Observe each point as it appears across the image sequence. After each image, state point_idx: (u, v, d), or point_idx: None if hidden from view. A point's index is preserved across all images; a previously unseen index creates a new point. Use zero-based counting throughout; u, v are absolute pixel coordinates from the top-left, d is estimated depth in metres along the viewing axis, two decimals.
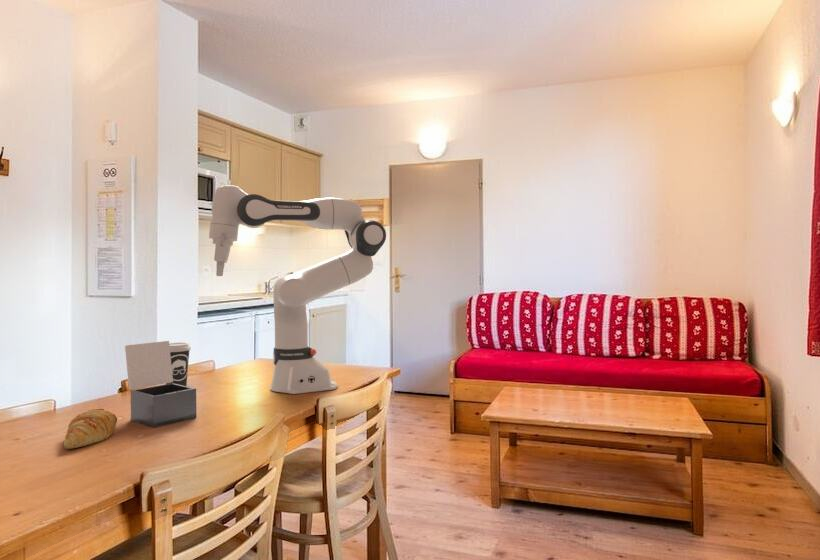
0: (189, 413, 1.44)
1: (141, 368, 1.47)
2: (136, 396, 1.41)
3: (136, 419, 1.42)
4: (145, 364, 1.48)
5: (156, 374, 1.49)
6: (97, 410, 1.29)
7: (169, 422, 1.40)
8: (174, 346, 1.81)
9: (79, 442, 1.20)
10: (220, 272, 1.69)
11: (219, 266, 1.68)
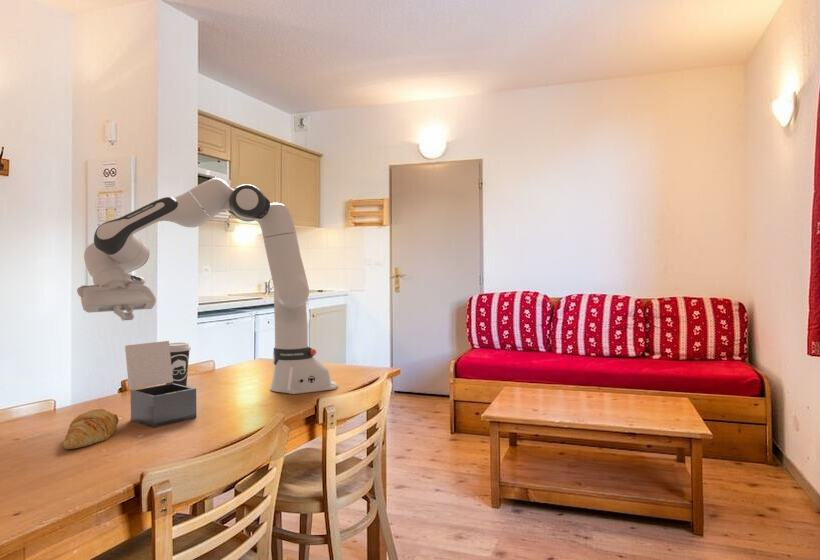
0: (189, 413, 1.44)
1: (141, 368, 1.47)
2: (136, 396, 1.41)
3: (136, 419, 1.42)
4: (145, 364, 1.48)
5: (156, 374, 1.49)
6: (98, 410, 1.29)
7: (169, 422, 1.40)
8: (174, 346, 1.81)
9: (79, 442, 1.20)
10: (122, 315, 1.55)
11: (116, 311, 1.56)
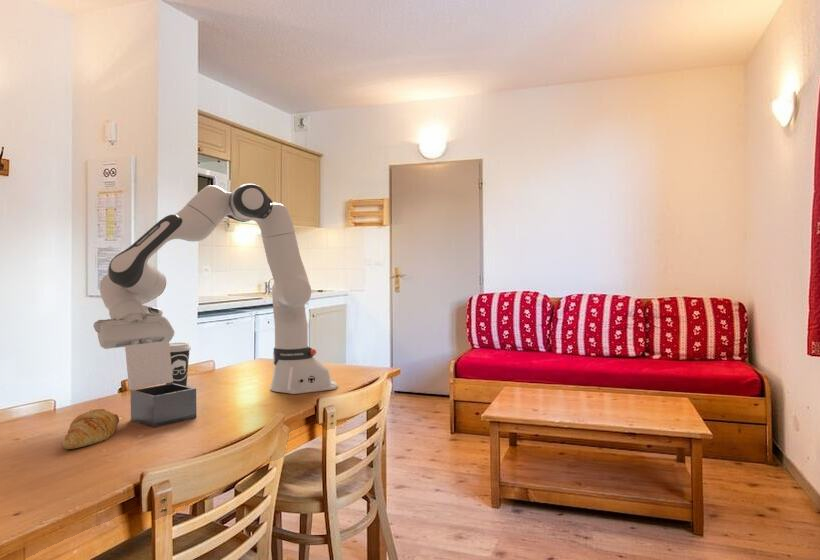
0: (189, 413, 1.44)
1: (141, 368, 1.47)
2: (136, 396, 1.41)
3: (136, 419, 1.42)
4: (145, 364, 1.48)
5: (156, 374, 1.49)
6: (98, 410, 1.29)
7: (169, 422, 1.40)
8: (174, 346, 1.81)
9: (79, 442, 1.20)
10: None
11: None
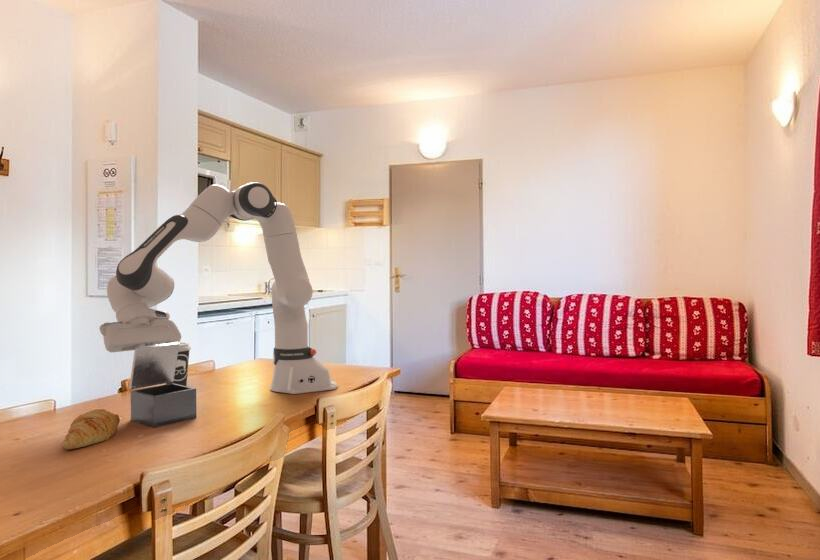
0: (189, 413, 1.44)
1: (145, 370, 1.45)
2: (136, 396, 1.41)
3: (136, 419, 1.42)
4: (150, 366, 1.46)
5: (158, 375, 1.49)
6: (98, 410, 1.29)
7: (169, 422, 1.40)
8: None
9: (79, 442, 1.19)
10: None
11: None
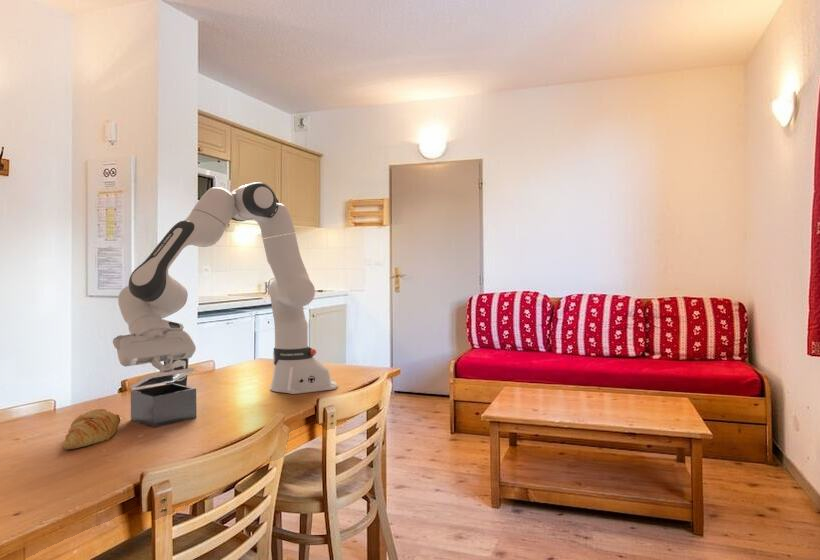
0: (189, 413, 1.44)
1: (152, 382, 1.43)
2: (136, 396, 1.41)
3: (136, 419, 1.42)
4: (158, 380, 1.44)
5: (162, 382, 1.48)
6: (99, 410, 1.29)
7: (169, 422, 1.40)
8: None
9: (78, 442, 1.19)
10: (161, 368, 1.42)
11: (155, 364, 1.42)
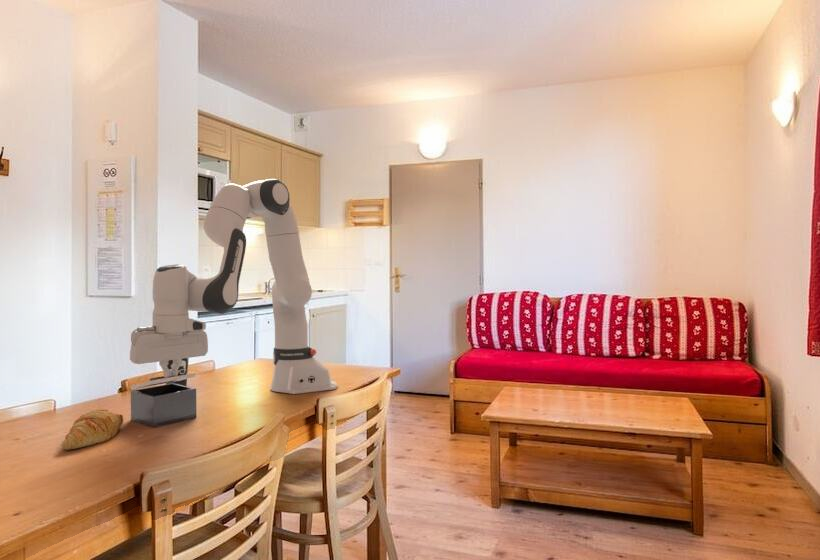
0: (189, 413, 1.44)
1: None
2: (136, 396, 1.41)
3: (136, 419, 1.42)
4: None
5: (162, 383, 1.47)
6: (100, 411, 1.29)
7: (169, 422, 1.40)
8: None
9: (77, 443, 1.19)
10: (165, 372, 1.40)
11: (162, 366, 1.40)
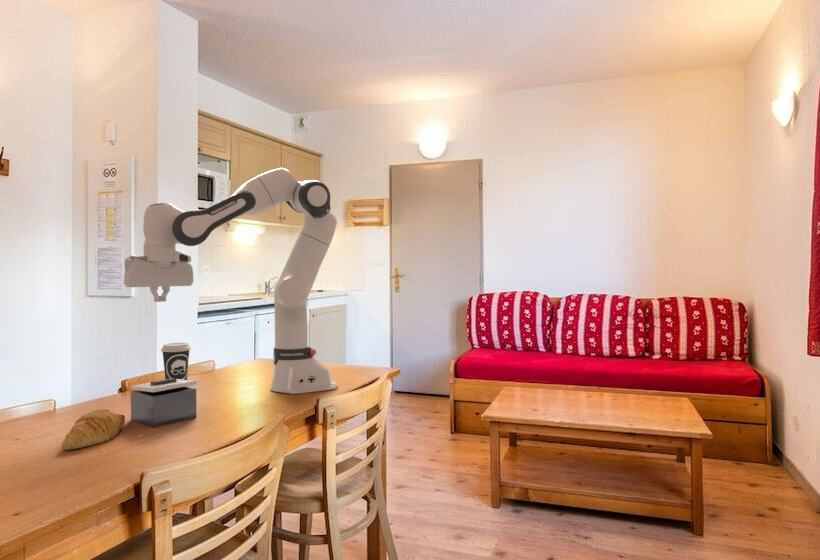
0: (189, 413, 1.44)
1: None
2: (136, 396, 1.41)
3: (136, 419, 1.42)
4: None
5: None
6: (101, 411, 1.29)
7: (169, 422, 1.40)
8: (174, 346, 1.81)
9: (77, 443, 1.19)
10: (156, 297, 1.60)
11: (152, 291, 1.60)
